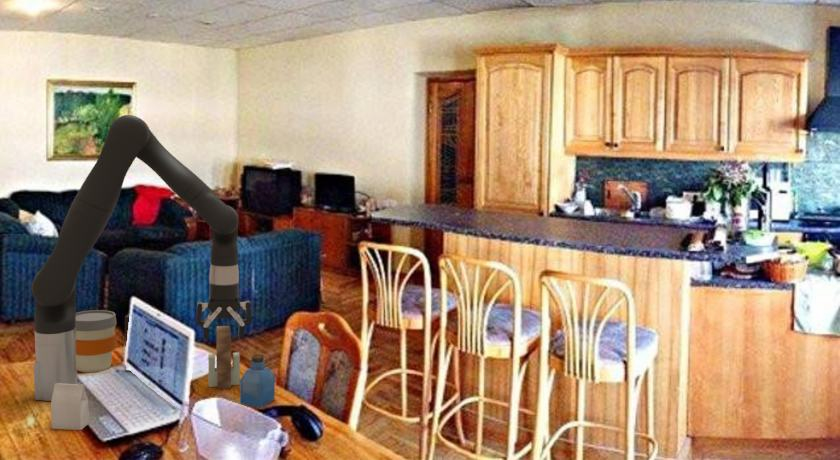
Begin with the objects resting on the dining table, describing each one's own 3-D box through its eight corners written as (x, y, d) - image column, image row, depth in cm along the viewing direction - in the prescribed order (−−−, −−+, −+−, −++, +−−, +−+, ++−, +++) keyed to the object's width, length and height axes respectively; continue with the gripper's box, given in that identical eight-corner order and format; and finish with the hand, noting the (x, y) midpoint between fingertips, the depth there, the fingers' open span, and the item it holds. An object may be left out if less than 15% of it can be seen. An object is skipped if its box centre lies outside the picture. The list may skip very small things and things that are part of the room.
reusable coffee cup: (86, 358, 212) (84, 308, 210) (126, 361, 211) (125, 311, 209) (59, 372, 200) (57, 319, 198) (101, 375, 198) (100, 323, 196)
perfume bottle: (274, 399, 187) (274, 354, 185) (261, 407, 181) (262, 361, 179) (253, 395, 189) (253, 351, 187) (240, 403, 183) (240, 357, 181)
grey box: (80, 430, 164) (79, 387, 162) (51, 428, 164) (50, 386, 163) (88, 423, 167) (87, 382, 166) (60, 422, 168) (58, 380, 166)
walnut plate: (217, 389, 192) (217, 334, 190) (216, 379, 199) (216, 326, 197) (230, 388, 193) (231, 333, 191) (229, 378, 200) (229, 325, 198)
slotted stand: (208, 386, 193) (208, 358, 192) (208, 382, 197) (208, 354, 195) (239, 384, 196) (239, 356, 195) (238, 380, 199) (238, 352, 198)
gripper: (196, 284, 186) (196, 345, 189) (252, 283, 191) (251, 342, 193) (196, 278, 194) (196, 336, 196) (250, 277, 198) (249, 334, 200)
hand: (223, 339), depth 194 cm, fingers open, 8 cm apart
